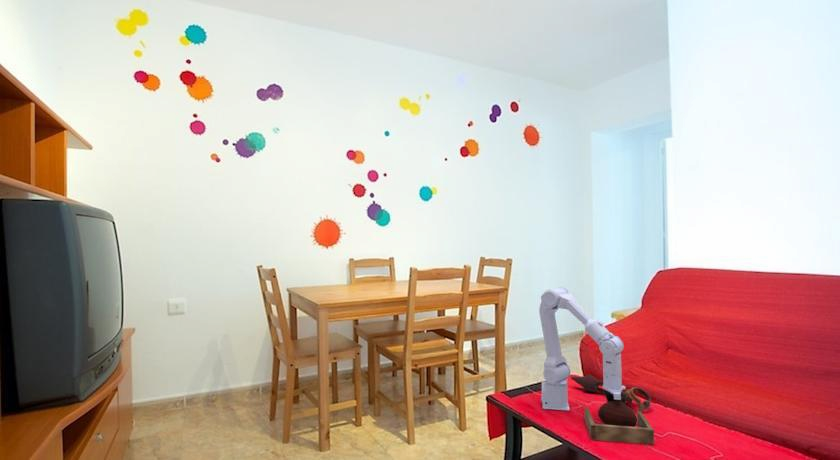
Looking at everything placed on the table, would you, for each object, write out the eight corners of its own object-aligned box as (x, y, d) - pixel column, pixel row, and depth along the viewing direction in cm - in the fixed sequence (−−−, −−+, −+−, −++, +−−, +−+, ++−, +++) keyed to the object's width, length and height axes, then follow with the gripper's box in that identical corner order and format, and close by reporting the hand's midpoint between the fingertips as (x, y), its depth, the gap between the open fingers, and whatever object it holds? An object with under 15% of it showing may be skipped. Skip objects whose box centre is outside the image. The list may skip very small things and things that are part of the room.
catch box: (591, 439, 136) (591, 425, 136) (584, 420, 149) (584, 407, 149) (654, 444, 132) (653, 429, 132) (641, 424, 145) (640, 411, 145)
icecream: (566, 374, 178) (603, 386, 168) (574, 366, 183) (610, 376, 173) (567, 389, 180) (604, 401, 170) (574, 380, 185) (610, 391, 175)
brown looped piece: (636, 402, 166) (647, 387, 162) (647, 422, 157) (658, 407, 153) (607, 395, 165) (616, 380, 161) (616, 415, 156) (626, 400, 153)
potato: (633, 440, 135) (633, 411, 134) (594, 429, 142) (593, 402, 142) (640, 429, 141) (639, 401, 141) (602, 419, 149) (601, 393, 149)
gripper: (630, 380, 139) (631, 423, 139) (619, 367, 153) (620, 405, 153) (607, 379, 140) (608, 421, 140) (598, 366, 154) (599, 404, 154)
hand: (613, 413), depth 147 cm, fingers closed, pressing on potato
